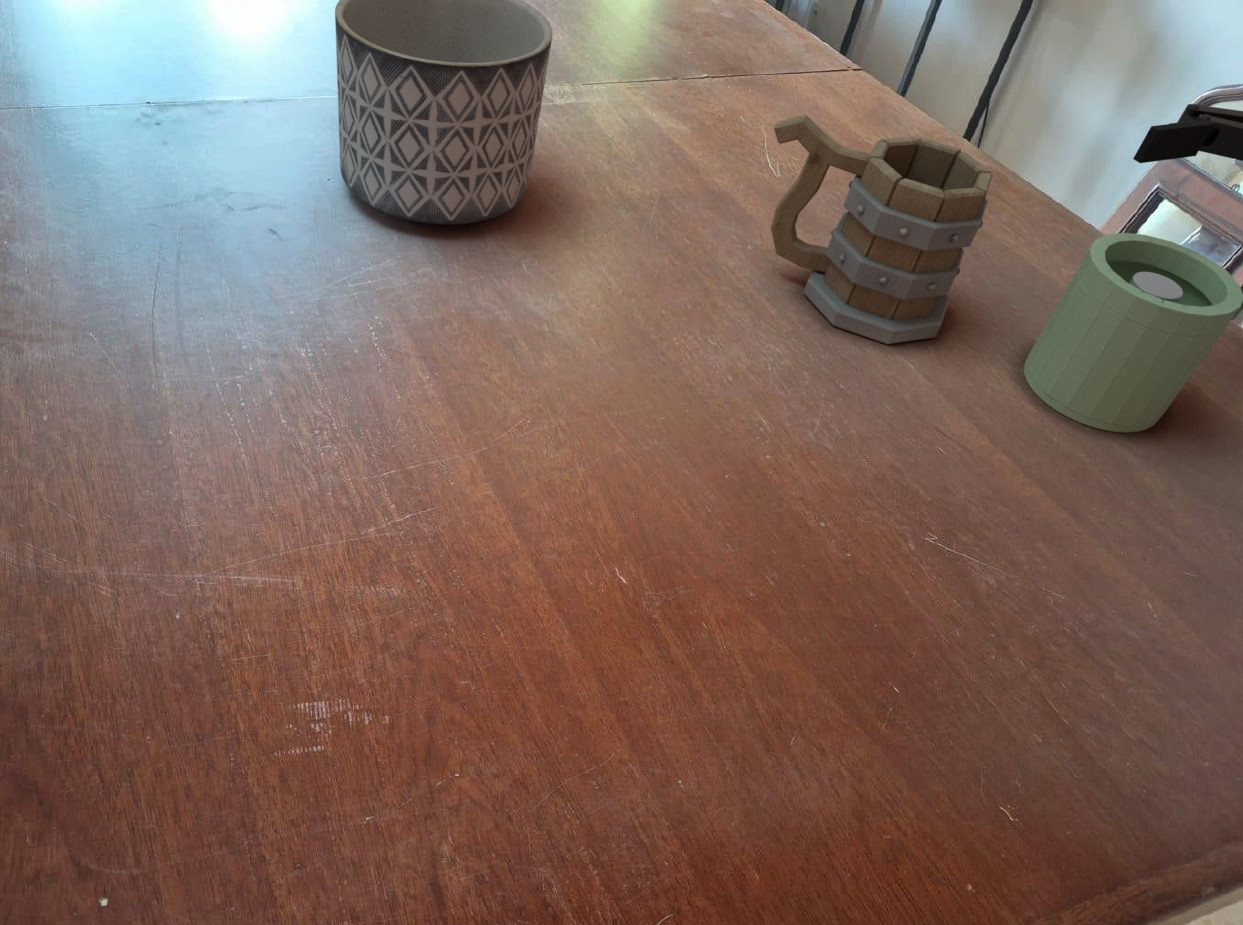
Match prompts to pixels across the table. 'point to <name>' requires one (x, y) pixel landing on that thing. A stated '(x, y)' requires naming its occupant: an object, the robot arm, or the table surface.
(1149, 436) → the table surface
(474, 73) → the planter
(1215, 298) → the jar
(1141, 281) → the salt shaker
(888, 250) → the tankard
